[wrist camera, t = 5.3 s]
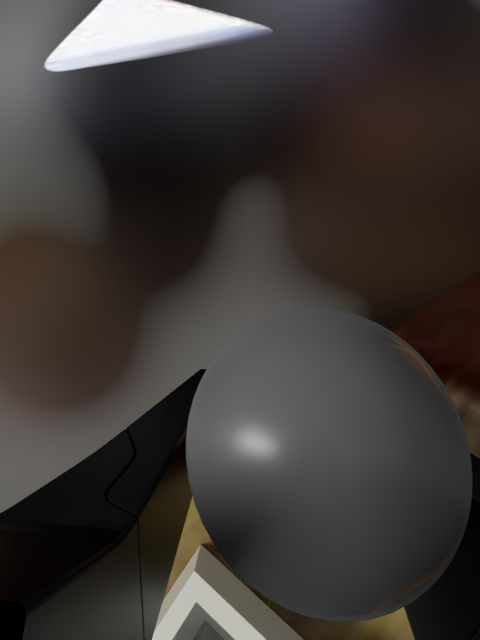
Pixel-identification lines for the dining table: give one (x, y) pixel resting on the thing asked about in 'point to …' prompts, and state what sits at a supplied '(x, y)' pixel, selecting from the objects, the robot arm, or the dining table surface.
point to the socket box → (216, 607)
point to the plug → (329, 464)
